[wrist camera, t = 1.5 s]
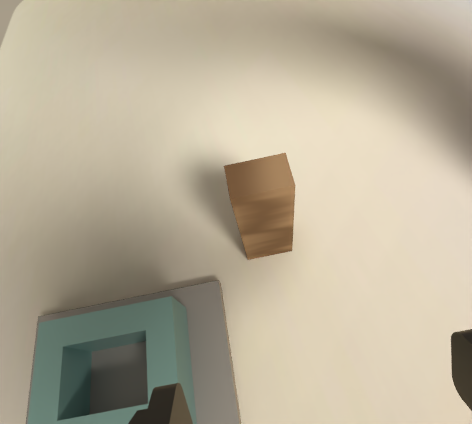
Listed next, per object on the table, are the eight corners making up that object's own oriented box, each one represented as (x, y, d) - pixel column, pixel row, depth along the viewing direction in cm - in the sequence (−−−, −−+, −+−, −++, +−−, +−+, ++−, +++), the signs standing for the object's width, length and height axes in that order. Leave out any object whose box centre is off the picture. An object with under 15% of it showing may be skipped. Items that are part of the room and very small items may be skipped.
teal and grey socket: (220, 283, 29) (209, 264, 25) (244, 448, 24) (235, 462, 19) (45, 318, 30) (4, 306, 26) (27, 487, 24) (-30, 509, 20)
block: (285, 225, 31) (285, 152, 21) (292, 250, 30) (295, 185, 20) (243, 234, 31) (224, 165, 22) (247, 259, 30) (230, 198, 20)
